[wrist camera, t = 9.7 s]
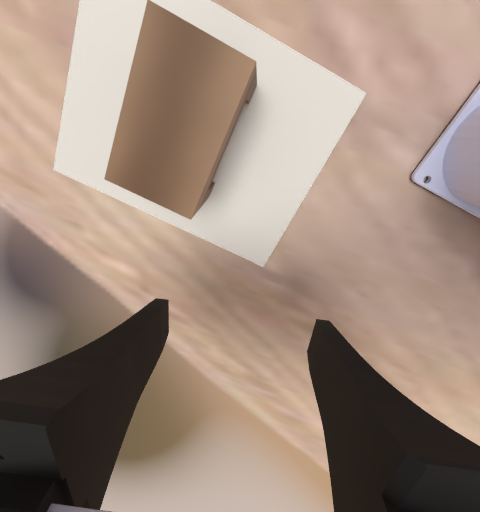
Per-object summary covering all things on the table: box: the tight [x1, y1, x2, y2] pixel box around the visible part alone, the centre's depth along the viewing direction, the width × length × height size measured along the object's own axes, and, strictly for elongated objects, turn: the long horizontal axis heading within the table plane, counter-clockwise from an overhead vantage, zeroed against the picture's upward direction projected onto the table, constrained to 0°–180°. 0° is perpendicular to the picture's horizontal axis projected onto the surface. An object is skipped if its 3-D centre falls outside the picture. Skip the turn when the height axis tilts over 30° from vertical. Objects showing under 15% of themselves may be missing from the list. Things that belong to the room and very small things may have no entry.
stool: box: [104, 0, 257, 220], centre depth 15 cm, size 5×8×6 cm, turn 154°
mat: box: [53, 0, 366, 267], centre depth 19 cm, size 18×14×1 cm
